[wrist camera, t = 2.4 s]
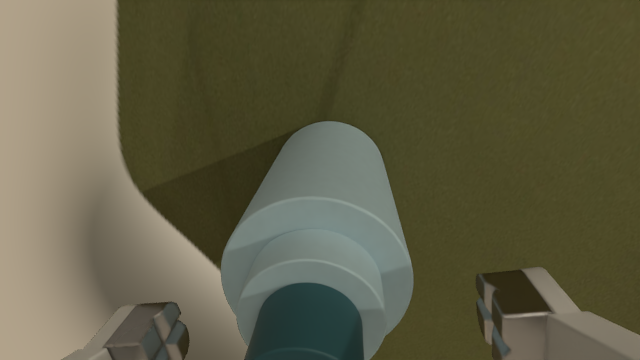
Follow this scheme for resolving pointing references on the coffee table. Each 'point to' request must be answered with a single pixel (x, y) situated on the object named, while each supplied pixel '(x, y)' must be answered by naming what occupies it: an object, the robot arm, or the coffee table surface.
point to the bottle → (319, 252)
